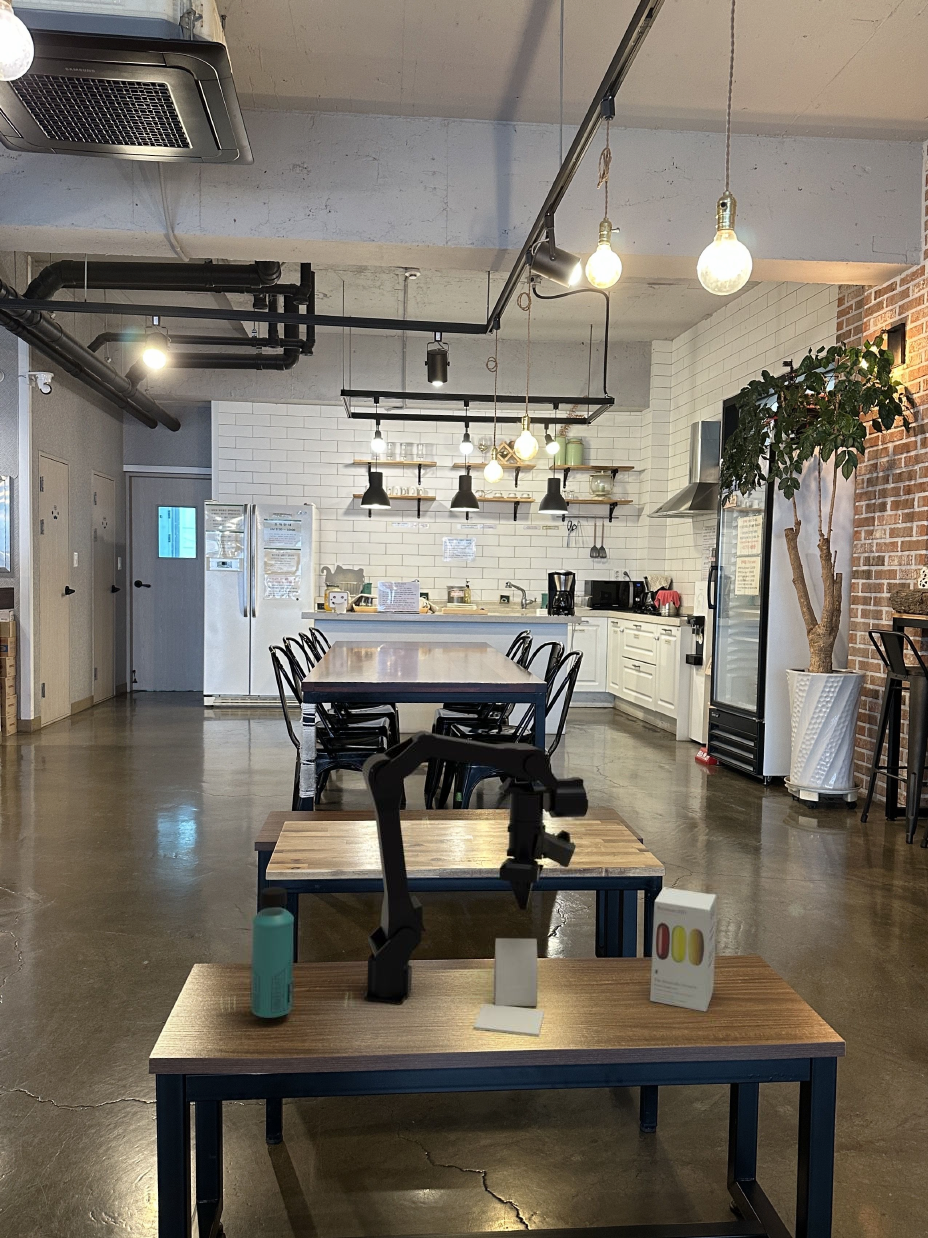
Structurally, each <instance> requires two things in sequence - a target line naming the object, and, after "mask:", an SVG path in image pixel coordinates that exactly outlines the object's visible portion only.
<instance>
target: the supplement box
mask: <svg viewBox="0 0 928 1238" xmlns="http://www.w3.org/2000/svg"><path fill="white" fill-rule="evenodd" d="M717 898H718V897H717V894H714V893H704V892H697V891H691V890H685V889H678V888H677V889H676V888H670V887H666V886H663V888H662V889H661V891H660V892H659V894H658V895H657V896H656V899H655V900H654V907H653V923H652V924H653V927H652V928H653V930H652V950H651V953H652V954H651V971H650V972H651V973H650V974H651V976H650V994H649V995H650V997H649V1001H650V1002H656V1003H660V1004H664V1005H671V1006H675V1007H681V1008H685V1009H690V1010H694V1011H701V1012H707V1011H708V1008H709V1006H710V1002H711V999H712V996H713V993H714V983H715V981H714V975H715V955H716V953H715V952H716V951H715V950H716V946H715V945H716V933H717V929H716V927H717V922H716V921H717V900H718V899H717Z"/></svg>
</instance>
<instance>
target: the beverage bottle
mask: <svg viewBox="0 0 928 1238" xmlns="http://www.w3.org/2000/svg"><path fill="white" fill-rule="evenodd" d="M287 893H288V892H287V890H286V888H284V887H280V886H279V887H277V886H273V887H272V886H271V887H266V888H264V889H262V890H261V891H260V899H259V906H262V907H266V908H263V909H261V910H260V911H258V913H257V914H255V916H254V917H253V918H252V946H251V948H252V949H251V950H252V951H251V952H252V953H251V956H250V957H251V963H250V967H251V980H249V981H250V983H251V984H250V991H249V992H250V993H249V994H250V998H249V999H250V1000H249V1001H250V1002H249V1003H250V1009H251V1012H252V1014H253V1015H255V1016H257V1017H260V1018H277V1017H283V1016H284V1015H287V1014H289V1013H290V1012H291V1010H292V1007H293V999H294V993H293V985H294V977H295V976H294V970H295V969H294V963H295V961H294V949H295V947H294V945H295V944H294V921H295V920H294V919H295V918H294V915H293V914H292V913H291V912H289V911H288V910H287V909H286V908H282V907H283V906H286V905H287V904H288V896H287V895H288V894H287Z"/></svg>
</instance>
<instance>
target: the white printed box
mask: <svg viewBox="0 0 928 1238" xmlns="http://www.w3.org/2000/svg"><path fill="white" fill-rule="evenodd" d="M537 941H538V939H537V938H512V937H511V938H509V937H508V938H507V937H506V938H505V937H503V938H502V937H501V938H500V937H499V938H497V937H495V942H494V943H495V946H494V947H495V948H494V964H493V965H494V967H493V1001H494V1005H495V1006H510V1007H518V1006H519V1007H522V1006H523V1007H532V1006H533V1007H538V988H539V987H538V986H539V984H538V981H539V980H538V978H539V977H538V975H539V973H538V972H539V965H538V963H539V962H538V945H537V944H538V943H537Z"/></svg>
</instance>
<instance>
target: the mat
mask: <svg viewBox="0 0 928 1238" xmlns="http://www.w3.org/2000/svg"><path fill="white" fill-rule="evenodd" d="M543 1016H545V1009H544V1010H543V1009H536V1008H535V1009H534V1008H529V1007H527V1008H525V1007H520V1006H519V1007H518V1006H495V1004H490V1003H482V1005H481V1007H480V1009H479V1012H478V1015H477V1017H476V1019H475V1021H474V1024H473V1029H472V1030H476V1029H481V1030H480V1031H485V1030H490V1031H489V1032H496V1033H502V1032H506V1033H505V1034H511V1033H513V1035H520V1034H524V1035H523V1036H528V1035H531V1036H530V1037H537V1036H539V1037H540V1034H539V1033H540V1032H541V1028H542V1025H543V1021H544V1017H543ZM542 1020H543V1021H542ZM541 1024H542V1025H541Z"/></svg>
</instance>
